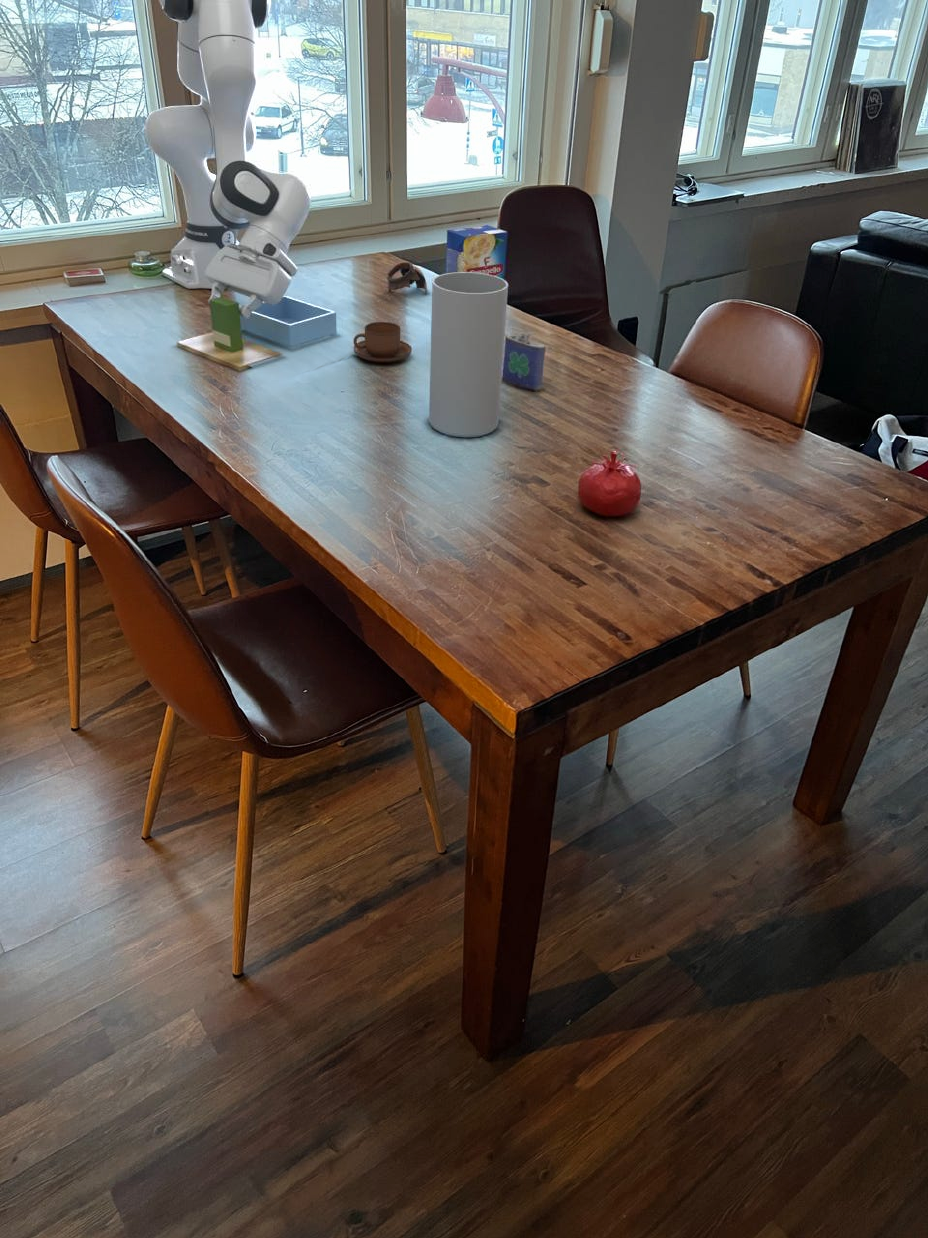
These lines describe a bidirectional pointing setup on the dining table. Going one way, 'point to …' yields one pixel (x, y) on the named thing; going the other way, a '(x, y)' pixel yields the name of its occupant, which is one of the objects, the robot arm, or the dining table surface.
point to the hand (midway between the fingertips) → (227, 310)
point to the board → (227, 352)
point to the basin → (290, 322)
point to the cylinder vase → (466, 352)
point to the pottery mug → (406, 277)
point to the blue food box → (476, 250)
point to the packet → (226, 324)
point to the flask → (523, 362)
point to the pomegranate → (610, 487)
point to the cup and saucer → (381, 343)
